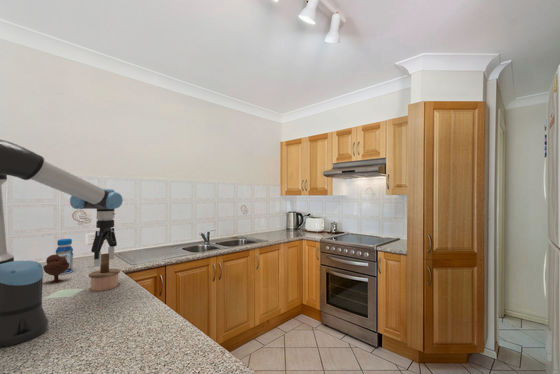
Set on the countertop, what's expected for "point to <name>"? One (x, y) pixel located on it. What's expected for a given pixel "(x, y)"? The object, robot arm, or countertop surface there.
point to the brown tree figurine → (56, 266)
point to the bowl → (104, 283)
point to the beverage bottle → (66, 252)
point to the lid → (104, 268)
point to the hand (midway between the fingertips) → (104, 262)
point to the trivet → (64, 293)
